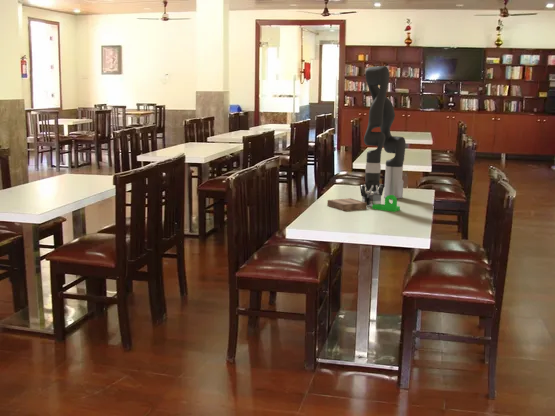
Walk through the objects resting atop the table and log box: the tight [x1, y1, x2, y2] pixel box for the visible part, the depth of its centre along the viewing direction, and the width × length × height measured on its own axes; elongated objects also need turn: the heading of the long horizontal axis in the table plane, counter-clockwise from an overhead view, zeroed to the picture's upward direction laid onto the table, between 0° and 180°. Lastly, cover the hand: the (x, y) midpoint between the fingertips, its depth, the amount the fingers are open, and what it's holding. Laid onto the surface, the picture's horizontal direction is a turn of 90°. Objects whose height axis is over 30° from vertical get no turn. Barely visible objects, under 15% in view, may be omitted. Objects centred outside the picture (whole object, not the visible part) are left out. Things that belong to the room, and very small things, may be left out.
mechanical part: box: [371, 195, 401, 213], centre depth 310 cm, size 12×6×8 cm, turn 56°
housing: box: [361, 192, 382, 208], centre depth 320 cm, size 5×9×6 cm, turn 28°
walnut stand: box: [326, 197, 368, 212], centre depth 313 cm, size 14×14×3 cm
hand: (371, 204), depth 321 cm, fingers closed on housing, 5 cm apart
